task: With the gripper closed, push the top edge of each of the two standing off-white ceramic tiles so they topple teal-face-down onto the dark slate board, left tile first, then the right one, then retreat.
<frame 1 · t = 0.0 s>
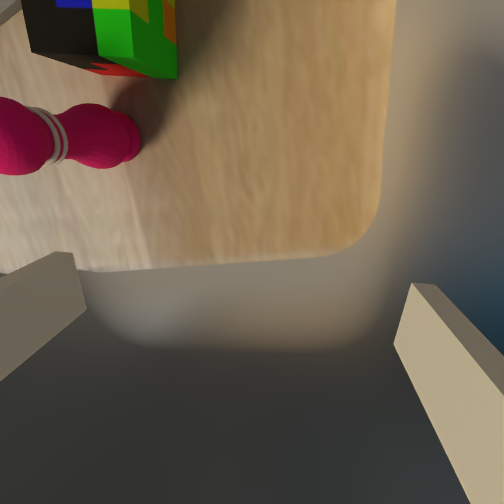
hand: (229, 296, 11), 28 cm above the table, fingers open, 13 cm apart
puzzle toy: (135, 27, 32), on the table
pepper mill: (120, 137, 37), on the table
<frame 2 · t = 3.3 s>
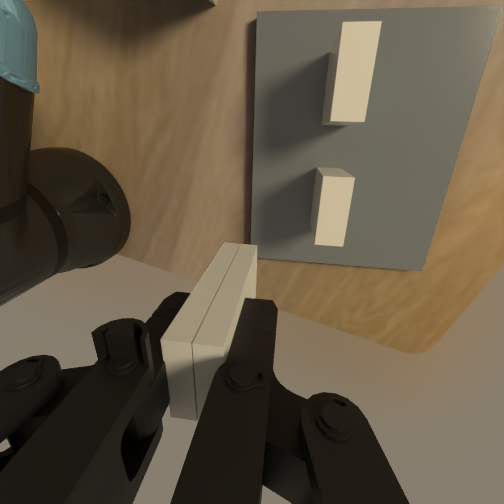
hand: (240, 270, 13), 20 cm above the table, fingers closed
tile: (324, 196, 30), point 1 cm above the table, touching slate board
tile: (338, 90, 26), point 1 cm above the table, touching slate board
slate board: (347, 157, 29), on the table
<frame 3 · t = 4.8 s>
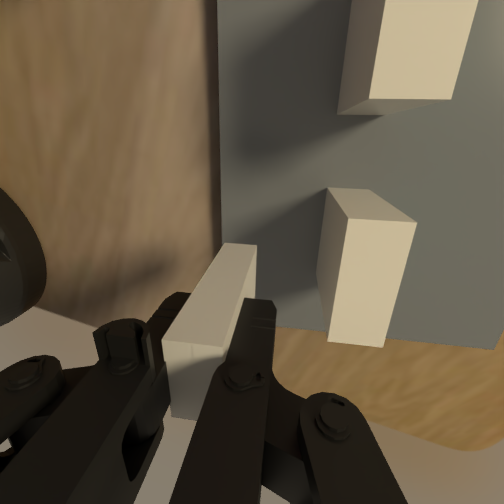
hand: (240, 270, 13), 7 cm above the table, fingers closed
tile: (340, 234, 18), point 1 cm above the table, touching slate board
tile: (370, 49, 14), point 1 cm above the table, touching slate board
slate board: (379, 170, 17), on the table
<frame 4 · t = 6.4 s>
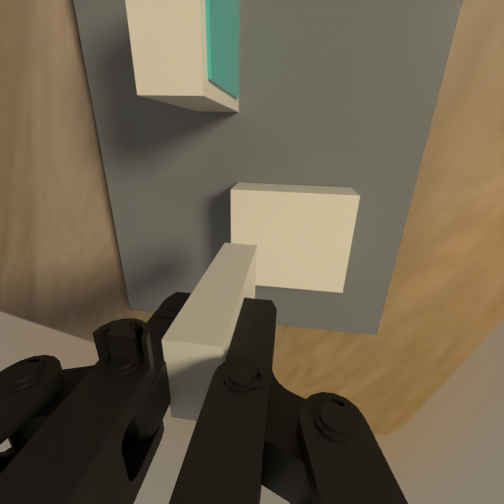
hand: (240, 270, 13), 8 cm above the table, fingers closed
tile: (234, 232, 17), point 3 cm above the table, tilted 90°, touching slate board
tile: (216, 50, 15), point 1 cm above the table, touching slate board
slate board: (252, 164, 18), on the table
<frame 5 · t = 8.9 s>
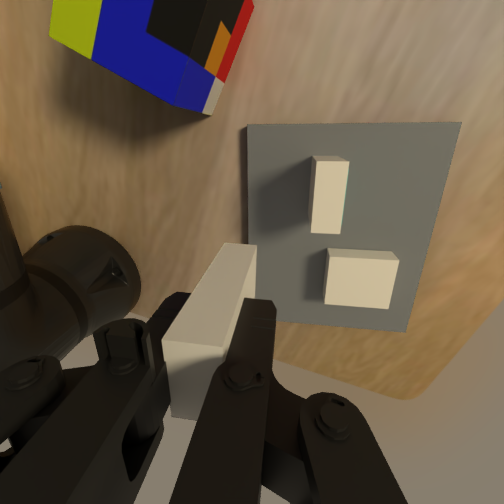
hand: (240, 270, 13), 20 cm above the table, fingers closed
puzzle toy: (187, 40, 27), on the table
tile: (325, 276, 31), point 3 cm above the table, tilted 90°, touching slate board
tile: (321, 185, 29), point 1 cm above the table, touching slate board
slate board: (333, 235, 32), on the table
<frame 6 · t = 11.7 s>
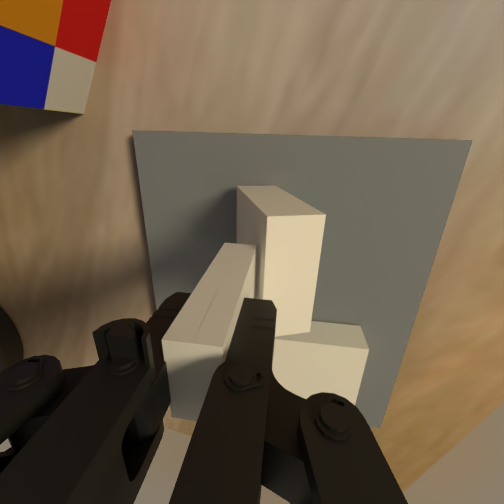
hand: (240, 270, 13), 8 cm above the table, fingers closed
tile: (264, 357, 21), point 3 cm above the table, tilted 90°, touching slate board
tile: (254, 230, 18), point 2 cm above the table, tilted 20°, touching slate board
slate board: (278, 296, 22), on the table
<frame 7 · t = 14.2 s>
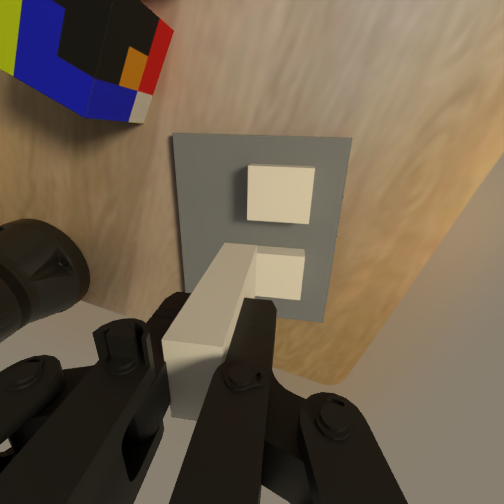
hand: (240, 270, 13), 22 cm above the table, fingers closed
puzzle toy: (118, 56, 30), on the table
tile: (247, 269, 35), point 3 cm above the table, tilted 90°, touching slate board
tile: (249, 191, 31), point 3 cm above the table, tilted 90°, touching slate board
slate board: (256, 234, 36), on the table
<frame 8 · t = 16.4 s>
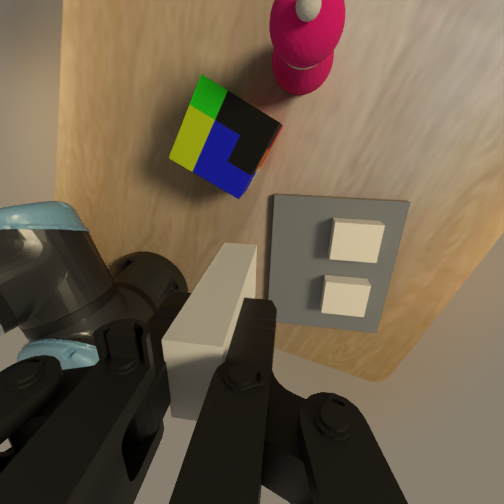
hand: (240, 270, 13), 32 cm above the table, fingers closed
puzzle toy: (237, 140, 41), on the table
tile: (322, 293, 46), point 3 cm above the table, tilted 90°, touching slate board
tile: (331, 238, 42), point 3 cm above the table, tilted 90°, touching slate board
pepper mill: (301, 68, 37), on the table
slate board: (328, 266, 47), on the table
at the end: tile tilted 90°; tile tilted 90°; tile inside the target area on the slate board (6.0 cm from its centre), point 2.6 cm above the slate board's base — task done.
